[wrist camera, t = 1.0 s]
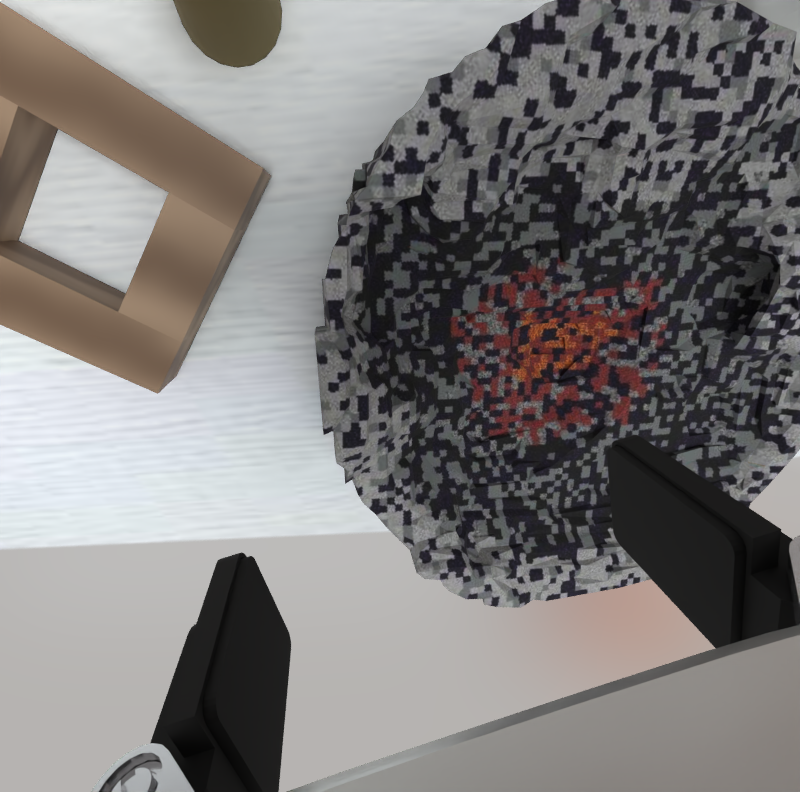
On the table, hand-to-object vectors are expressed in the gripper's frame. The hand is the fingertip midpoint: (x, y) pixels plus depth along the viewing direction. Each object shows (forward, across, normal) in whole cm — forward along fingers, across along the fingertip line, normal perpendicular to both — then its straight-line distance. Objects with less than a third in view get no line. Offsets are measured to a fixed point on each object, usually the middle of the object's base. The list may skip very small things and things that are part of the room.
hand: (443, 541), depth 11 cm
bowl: (+26, -12, +2) cm, 28 cm away
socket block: (+25, +15, -12) cm, 32 cm away
